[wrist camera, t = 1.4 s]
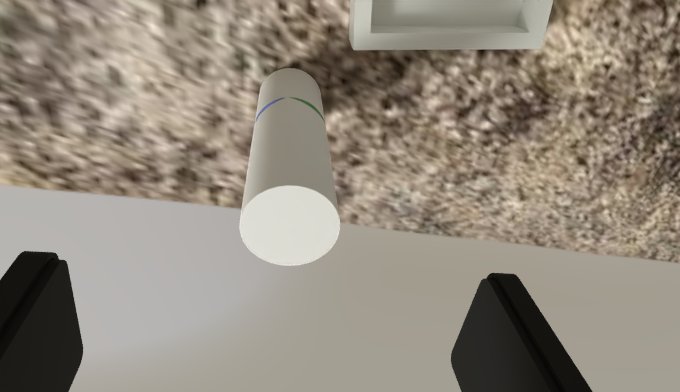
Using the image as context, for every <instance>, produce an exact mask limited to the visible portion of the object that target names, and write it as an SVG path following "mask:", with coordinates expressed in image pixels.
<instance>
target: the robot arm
mask: <svg viewBox="0 0 680 392" xmlns="http://www.w3.org/2000/svg"><path fill="white" fill-rule="evenodd" d="M82 355H83V344H82V339H81V334H80V329H79V324H78V318H77V313H76V307H75V302H74V297H73V291H72V287H71V281H70V275H69V270H68V265H67V262H66V261H65V260H59V259H58V256H57V254H56V253H52V252H31V251H30V252H29V251H24V252H22V253H21V254H20V255H19V256H18V257H17V258H16V260H15V261H14V262H13V264H12V265H11V266H10V268H9V269H8V270H7V272H6V273H5V274H4V276H3V277H2V278H1V280H0V392H68V391H69V389H70V387H71V384H72V382H73V380H74V377H75V375H76V373H77V371H78V368H79V366H80V363H81V360H82ZM451 363H452V367H453V370H454V373H455V375H456V378H457V381H458V383H459V386H460V389H461V391H462V392H592V390H591V389H590V387H589V386H588V384H587V383H586V381H585V379H584V378H583V377H582V375H581V373H580V372H579V370H578V369H577V367H576V366H575V364H574V363H573V361H572V359H571V358H570V356H569V355H568V353H567V352H566V350H565V349H564V347H563V345H562V344H561V342H560V341H559V339H558V338H557V336H556V335H555V333H554V332H553V330H552V329H551V327H550V325H549V324H548V322H547V321H546V319H545V318H544V316H543V315H542V313H541V312H540V310H539V308H538V307H537V305H536V304H535V302H534V301H533V299H532V298H531V296H530V295H529V293H528V291H527V290H526V288H525V287H524V285H523V284H522V282H521V281H520V279H519V278H518V277H517V276H516V275H514V274H503V273H491V274H489V275H488V277H487V279H483V280H481V282H480V285H479V287H478V289H477V292H476V294H475V297H474V299H473V301H472V304H471V307H470V309H469V311H468V314H467V316H466V319H465V321H464V323H463V326H462V328H461V331H460V333H459V336H458V338H457V340H456V343H455V346H454V348H453V350H452V354H451Z"/></svg>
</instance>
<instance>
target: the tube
mask: <svg viewBox="0 0 680 392" xmlns="http://www.w3.org/2000/svg"><path fill="white" fill-rule="evenodd" d="M239 225H240V234H241V237H242V239H243V241H244V243H245V245H246V246H247V247H248V248H249V250H250V251H251V252H252V253H254V254H255V255H256V256H257V257H259V258H261V259H263V260H265V261H267V262H270V263H273V264H278V265H284V266H294V265H302V264H305V263H308V262H312V261H314V260H316V259H318V258H320V257H321V256H323V255H324V254H326V253H327V252H328V251H329V250H330V249H331V248H332V247H333V245H334V243H335V242H336V240H337V238H338V235H339V231H340V220H339V212H338V206H337V199H336V192H335V186H334V179H333V172H332V166H331V159H330V152H329V146H328V139H327V132H326V126H325V119H324V112H323V106H322V99H321V92H320V89H319V86H318V84H317V83H316V81H315V80H314V79H313V78H312V77H311V76H310V75H309V74H307V73H306V72H304V71H302V70H299V69H295V68H284V69H280V70H277V71H275V72H273V73H272V74H270V75H269V76H268V77H267V78H266V79H265V81H264V82H263V84H262V86H261V89H260V94H259V100H258V106H257V113H256V119H255V126H254V132H253V139H252V145H251V152H250V158H249V164H248V171H247V177H246V184H245V190H244V197H243V203H242V210H241V217H240V224H239Z"/></svg>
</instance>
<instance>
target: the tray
mask: <svg viewBox="0 0 680 392" xmlns="http://www.w3.org/2000/svg"><path fill="white" fill-rule="evenodd" d="M552 4H553V0H350V24H349V41H350V43H351V46H352V48H353V50H460V49H541V47H542V43H543V39H544V35H545V32H546V28H547V24H548V20H549V16H550V12H551V8H552Z"/></svg>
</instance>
